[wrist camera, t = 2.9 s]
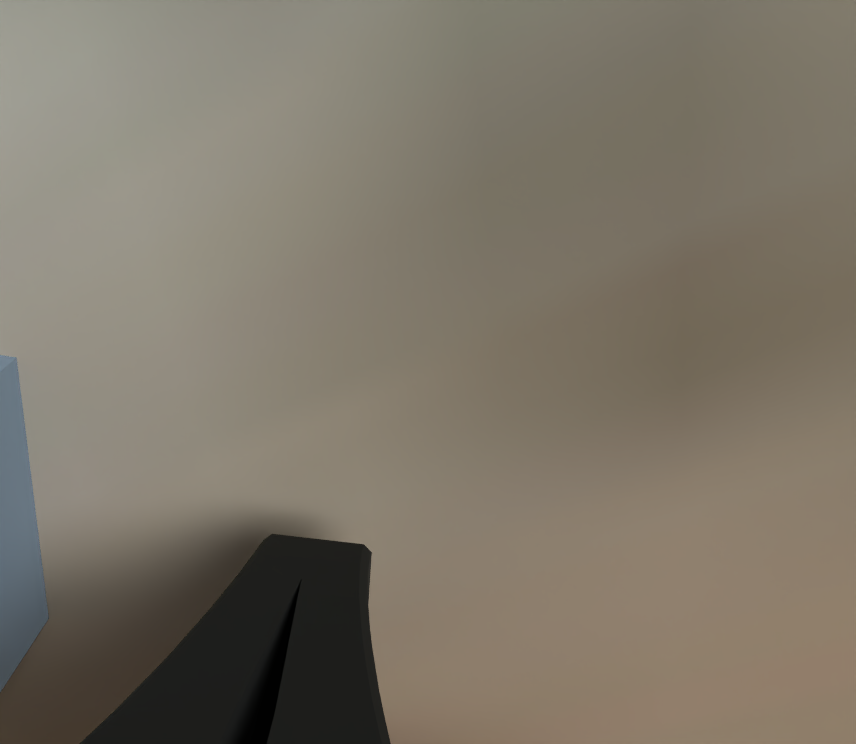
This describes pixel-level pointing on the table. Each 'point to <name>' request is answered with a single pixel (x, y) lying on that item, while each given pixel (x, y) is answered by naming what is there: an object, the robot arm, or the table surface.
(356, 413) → the table surface
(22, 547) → the slate block
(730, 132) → the table surface
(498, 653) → the table surface
